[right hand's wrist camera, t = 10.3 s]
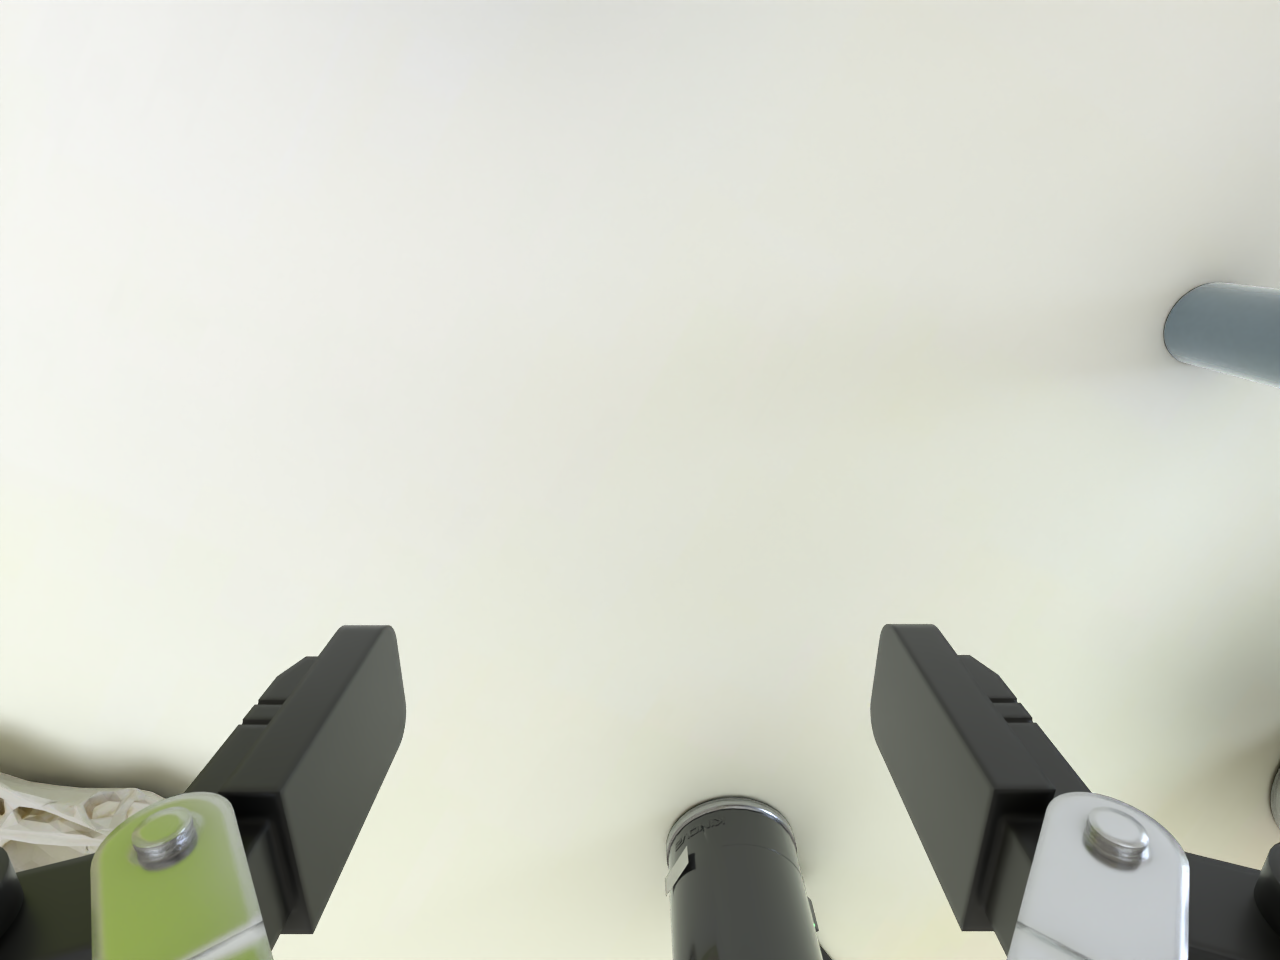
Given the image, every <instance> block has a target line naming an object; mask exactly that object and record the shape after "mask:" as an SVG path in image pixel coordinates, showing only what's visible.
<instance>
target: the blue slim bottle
mask: <svg viewBox="0 0 1280 960" xmlns="http://www.w3.org/2000/svg"><path fill="white" fill-rule="evenodd" d="M1164 341H1165V345H1166V347H1167V349H1168V351H1169V352H1170V354H1171V355H1172V356H1173V357H1174V358H1176V359H1177V360H1179V361H1181V362H1183V363H1187V364H1190V365H1194V366H1198V367H1201V368H1205V369H1209V370H1213V371H1216V372H1220V373H1224V374H1227V375H1231V376H1235V377H1239V378H1242V379H1246V380H1250V381H1253V382H1257V383H1261V384H1265V385H1268V386H1272V387H1276V388H1279V389H1280V289H1275V288H1267V287H1258V286H1249V285H1240V284H1232V283H1223V282H1214V283H1208V284H1204V285H1201V286H1199V287H1197V288H1195V289H1193V290H1191V291H1190V292H1188V293H1187V294H1185V295H1184V296H1183V297H1182V298H1181V299H1180V300H1179V301H1178V302H1177V303H1176V304H1175V306H1174V307H1173V308H1172V310H1171V312H1170V314H1169V316H1168V318H1167V320H1166V324H1165V328H1164Z"/></svg>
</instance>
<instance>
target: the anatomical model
mask: <svg viewBox="0 0 1280 960" xmlns="http://www.w3.org/2000/svg"><path fill="white" fill-rule="evenodd" d="M163 799H165V798H163V797H161V796H159V795H157V794H155V793H154V792H150V791H145V790H140V789H138V788H79V787H69V786H59V785H52V784H45V783H38V782H31V781H27V780H24V779H21V778H18V777H14V776H11V775H8V774H5V773H2V772H0V847H2V848H3V849H4V850H5V851H6V852H7V854H8V856H9V858H10V861H11V863H12V865H13V868H14V870H15V872H20V871H25V870H29V869H33V868H37V867H41V866H45V865H49V864H53V863H57V862H61V861H65V860H69V859H73V858H78V857H82V856H85V855H89V854H92V853H95V852H96V851H97V849H98V847H99V846H100V844H101V843H102V842H103V840H104V839H105V838H106V837H107V836H108V835H109V834H110V833H111V832H112V831H113V830H114V829H115V828H116V827H117V826H118V825H120V824H121V823H122V822H123V821H125V820H126V819H127V818H129V817H130V816H132V815H133V814H135V813H136V812H138V811H140V810H142V809H144V808H145V807H147V806H149V805H151V804H154V803H156V802H158V801H160V800H163ZM86 846H87V848H88V850H87V849H86Z"/></svg>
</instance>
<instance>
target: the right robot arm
mask: <svg viewBox="0 0 1280 960" xmlns="http://www.w3.org/2000/svg"><path fill="white" fill-rule="evenodd" d="M870 710H871V723H872V729H873V734H874V737H875V741H876V743H877V745H878V748H879V750H880V752H881V754H882V756H883V759H884V761H885V763H886V765H887V767H888V770H889V772H890V774H891V776H892V778H893V781H894V783H895V785H896V787H897V789H898V792H899V794H900V796H901V798H902V800H903V803H904V805H905V807H906V809H907V812H908V814H909V816H910V818H911V820H912V823H913V825H914V827H915V829H916V831H917V834H918V836H919V838H920V840H921V842H922V845H923V847H924V849H925V851H926V853H927V856H928V858H929V860H930V862H931V864H932V867H933V869H934V871H935V873H936V875H937V878H938V880H939V882H940V884H941V886H942V889H943V891H944V893H945V895H946V897H947V900H948V902H949V904H950V906H951V908H952V911H953V913H954V915H955V917H956V919H957V922H958V924H959V926H960V928H961V930H962V931H994V932H995V934H996V936H997V938H998V940H999V942H1000V944H1001V946H1002V948H1003V950H1004V952H1005V954H1006V956H1007V960H1280V842H1279V843H1278V844H1276V845H1274V846H1273V847H1272V848H1271V849H1270V851H1269V854H1268V856H1267V858H1266V861H1265V863H1264V866H1263V868H1262V870H1261V871H1260V870H1256V869H1252V868H1248V867H1244V866H1240V865H1236V864H1232V863H1228V862H1224V861H1220V860H1215V859H1211V858H1207V857H1203V856H1199V855H1195V854H1191V853H1187V852H1184V851H1183V849H1182V847H1181V846H1180V844H1179V843H1178V842H1177V841H1176V839H1175V838H1174V837H1173V836H1172V835H1171V834H1170V833H1169V832H1168V831H1167V830H1166V829H1165V828H1164V827H1163V826H1162V825H1160V824H1159V823H1158V822H1157V821H1155V820H1154V819H1153V818H1151V817H1150V816H1148V815H1147V814H1145V813H1144V812H1142V811H1140V810H1138V809H1136V808H1135V807H1133V806H1131V805H1129V804H1126V803H1124V802H1122V801H1120V800H1117V799H1114V798H1111V797H1108V796H1104V795H1100V794H1096V793H1091V791H1090V790H1089V789H1088V788H1087V786H1086V785H1085V784H1084V783H1083V781H1082V780H1081V779H1080V777H1079V776H1078V775H1077V774H1076V772H1075V771H1074V770H1073V769H1072V767H1071V766H1070V765H1069V764H1068V762H1067V761H1066V760H1065V759H1064V757H1063V756H1062V755H1061V753H1060V752H1059V751H1058V750H1057V748H1056V747H1055V746H1054V745H1053V743H1052V742H1051V741H1050V740H1049V738H1048V737H1047V736H1046V735H1045V733H1044V732H1043V731H1042V729H1041V728H1040V727H1039V726H1038V724H1037V723H1033V721H1032V717H1031V716H1030V714H1029V713H1028V712H1027V711H1026V709H1025V708H1024V707H1023V706H1022V704H1021V703H1017V698H1016V697H1015V695H1014V694H1013V693H1012V692H1011V690H1010V689H1009V688H1008V687H1007V685H1006V684H1005V683H1004V682H1003V680H1002V679H1001V678H1000V676H999V675H998V674H996V673H995V672H993V671H992V670H990V669H989V668H987V667H986V666H985V665H983V664H982V663H980V662H979V661H977V660H976V659H974V658H973V657H972V656H970V655H957V654H956V652H955V651H954V650H953V648H952V647H951V646H950V644H949V643H948V641H947V640H946V639H945V637H944V636H943V635H942V633H941V632H940V631H939V629H938V628H937V627H936V626H935V625H933V624H886V625H885V626H884V627H883V629H882V631H881V634H880V640H879V647H878V654H877V661H876V669H875V676H874V683H873V690H872V697H871V709H870ZM405 721H406V702H405V695H404V688H403V681H402V674H401V667H400V660H399V653H398V646H397V639H396V635H395V632H394V629H393V628H392V627H391V626H389V625H344V626H342V627H340V628H339V629H338V630H337V632H336V633H335V634H334V636H333V637H332V638H331V640H330V641H329V643H328V644H327V645H326V647H325V648H324V649H323V651H322V652H321V653H320V655H319V656H318V657H305V658H303V659H302V660H300V661H299V662H298V663H296V664H295V665H293V666H292V667H290V668H289V669H287V670H286V671H284V672H283V673H282V674H280V675H279V676H277V677H276V679H275V680H274V681H273V682H272V684H271V685H270V686H269V687H268V689H267V690H266V691H265V692H264V694H263V695H262V696H261V697H260V699H259V702H258V705H254V706H253V707H252V709H251V710H250V711H249V712H248V714H247V715H246V716H245V717H244V719H243V723H242V725H238V726H237V727H236V729H235V730H234V731H233V732H232V734H231V735H230V736H229V737H228V739H227V740H226V741H225V742H224V744H223V745H222V746H221V747H220V749H219V750H218V751H217V752H216V754H215V755H214V756H213V757H212V759H211V760H210V761H209V762H208V764H207V765H206V766H205V767H204V769H203V770H202V771H201V772H200V774H199V775H198V776H197V777H196V779H195V780H194V781H193V782H192V784H191V785H190V786H189V788H188V789H187V790H186V791H185V793H184V794H180V795H176V796H172V797H169V798H166V799H163V800H160V801H158V802H156V803H154V804H151V805H149V806H147V807H145V808H144V809H142V810H140V811H138V812H136V813H135V814H133V815H132V816H130V817H129V818H127V819H126V820H125V821H123V822H122V823H121V824H120V825H118V826H117V827H116V828H115V829H114V830H113V831H112V832H111V833H110V834H109V835H108V836H107V837H106V838H105V839H104V840H103V842H102V843H101V844H100V846H99V847H98V849H97V851H96V852H95V853H92V854H89V855H85V856H82V857H78V858H73V859H69V860H65V861H61V862H57V863H53V864H49V865H45V866H41V867H37V868H33V869H29V870H25V871H20V872H15V870H14V868H13V865H12V863H11V861H10V858H9V856H8V854H7V852H6V851H5V850H4V849H3V848H2V847H0V960H273V956H272V952H271V951H272V949H273V947H274V945H275V943H276V941H277V939H278V937H279V935H280V934H313V933H314V931H315V928H316V926H317V924H318V922H319V920H320V917H321V915H322V913H323V911H324V909H325V907H326V904H327V902H328V900H329V898H330V896H331V894H332V891H333V889H334V887H335V885H336V883H337V880H338V878H339V876H340V874H341V872H342V870H343V867H344V865H345V863H346V861H347V859H348V857H349V854H350V852H351V850H352V848H353V846H354V844H355V841H356V839H357V837H358V835H359V833H360V830H361V828H362V826H363V824H364V822H365V820H366V817H367V815H368V813H369V811H370V809H371V807H372V804H373V802H374V800H375V798H376V796H377V793H378V791H379V789H380V787H381V785H382V783H383V780H384V778H385V776H386V774H387V772H388V770H389V767H390V765H391V763H392V761H393V759H394V757H395V754H396V752H397V750H398V748H399V746H400V743H401V740H402V737H403V733H404V728H405ZM666 851H667V864H668V868H669V874H668V875H667V877H666V878H665V886H666V896H667V894H668V893H669V891H670V910H671V931H672V952H673V960H831V958H830V957H829V956H828V955H827V953H826V952H825V951H824V950H823V949H822V948H821V947H820V945H819V942H818V938H817V934H816V932H817V931H819V929H818V926H817V922H816V918H815V914H814V910H813V906H812V902H811V900H810V899H809V898H808V897H807V894H806V890H805V886H804V881H803V877H802V873H801V869H800V866H799V862H798V858H797V848H796V843H795V839H794V835H793V832H792V829H791V827H790V825H789V823H788V822H787V820H786V819H785V818H784V817H783V816H782V815H781V814H780V813H779V812H778V811H776V810H775V809H773V808H772V807H770V806H768V805H766V804H764V803H761V802H758V801H755V800H751V799H745V798H721V799H716V800H712V801H708V802H705V803H703V804H700V805H698V806H696V807H694V808H692V809H691V810H689V811H688V812H686V813H685V814H684V815H683V816H681V817H680V818H679V819H678V821H677V822H676V823H675V824H674V826H673V827H672V829H671V831H670V833H669V836H668V839H667V845H666Z"/></svg>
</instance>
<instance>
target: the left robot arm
mask: <svg viewBox="0 0 1280 960" xmlns="http://www.w3.org/2000/svg"><path fill="white" fill-rule="evenodd" d="M1271 809H1272V814H1273V817H1274V820H1275V822H1276V824H1277V825H1278V827H1279V828H1280V768H1279V770H1278V772H1277V774H1276V776H1275V779H1274V782H1273V786H1272V791H1271Z"/></svg>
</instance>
